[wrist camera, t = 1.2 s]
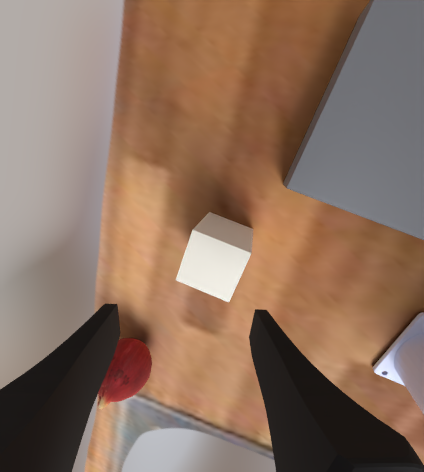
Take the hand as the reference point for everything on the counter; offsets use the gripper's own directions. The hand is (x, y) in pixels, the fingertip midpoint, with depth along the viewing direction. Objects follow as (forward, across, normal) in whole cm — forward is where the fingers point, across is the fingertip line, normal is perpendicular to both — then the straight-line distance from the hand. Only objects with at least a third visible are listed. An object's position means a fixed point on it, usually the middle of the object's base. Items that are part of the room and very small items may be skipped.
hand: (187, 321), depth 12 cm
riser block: (+9, -15, -10) cm, 20 cm away
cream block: (+11, -3, +1) cm, 12 cm away
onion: (+12, +6, +16) cm, 21 cm away
